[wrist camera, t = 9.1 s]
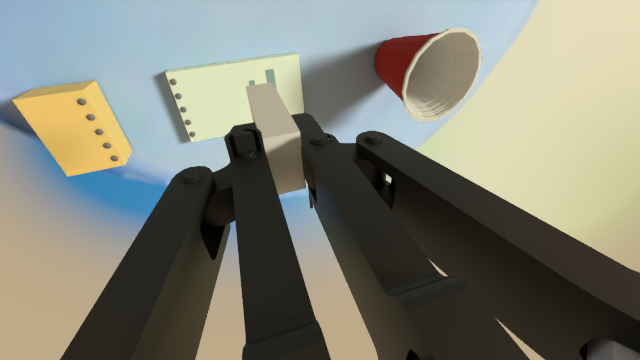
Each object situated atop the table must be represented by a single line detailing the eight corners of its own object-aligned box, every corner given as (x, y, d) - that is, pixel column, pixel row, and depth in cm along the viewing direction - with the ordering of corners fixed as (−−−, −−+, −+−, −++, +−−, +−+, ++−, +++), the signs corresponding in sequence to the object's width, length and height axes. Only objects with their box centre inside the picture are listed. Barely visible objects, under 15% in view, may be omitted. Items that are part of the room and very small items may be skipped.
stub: (32, 88, 30) (11, 100, 26) (95, 80, 31) (82, 90, 28) (80, 160, 35) (67, 177, 32) (132, 150, 36) (124, 165, 33)
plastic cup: (377, 110, 45) (421, 140, 36) (346, 52, 39) (390, 71, 29) (431, 67, 44) (491, 87, 35) (409, 1, 38) (476, 3, 28)
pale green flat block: (166, 69, 33) (164, 73, 32) (295, 52, 36) (298, 54, 35) (191, 137, 38) (191, 142, 37) (302, 116, 42) (305, 120, 40)
